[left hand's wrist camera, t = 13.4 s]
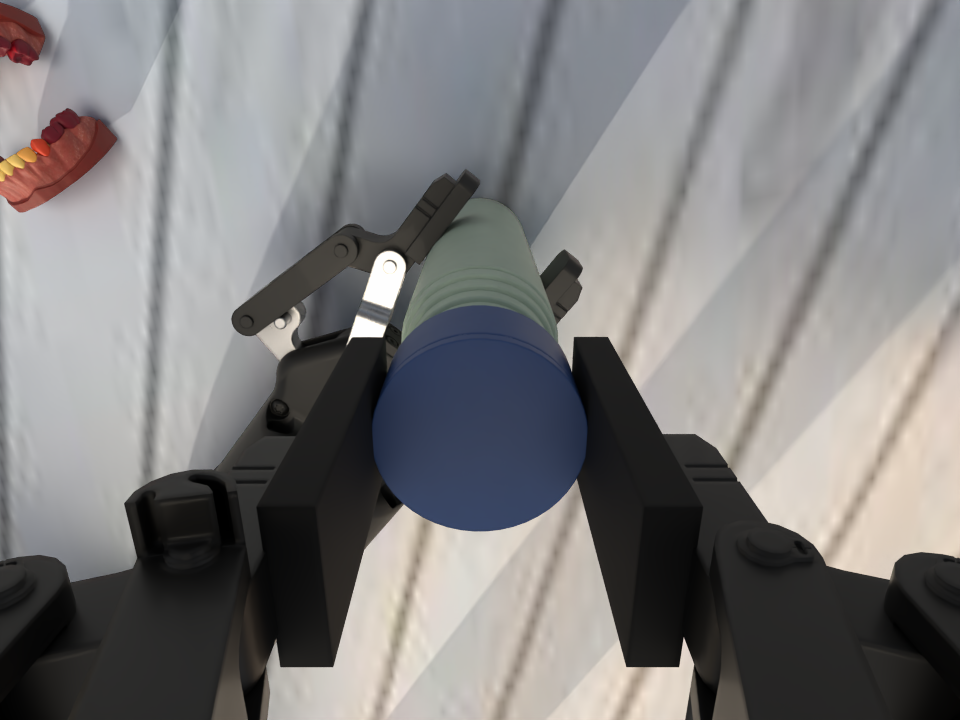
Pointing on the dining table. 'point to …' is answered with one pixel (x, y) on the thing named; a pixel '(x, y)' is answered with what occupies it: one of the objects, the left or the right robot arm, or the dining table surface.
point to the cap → (479, 420)
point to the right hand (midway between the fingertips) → (522, 219)
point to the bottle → (481, 269)
